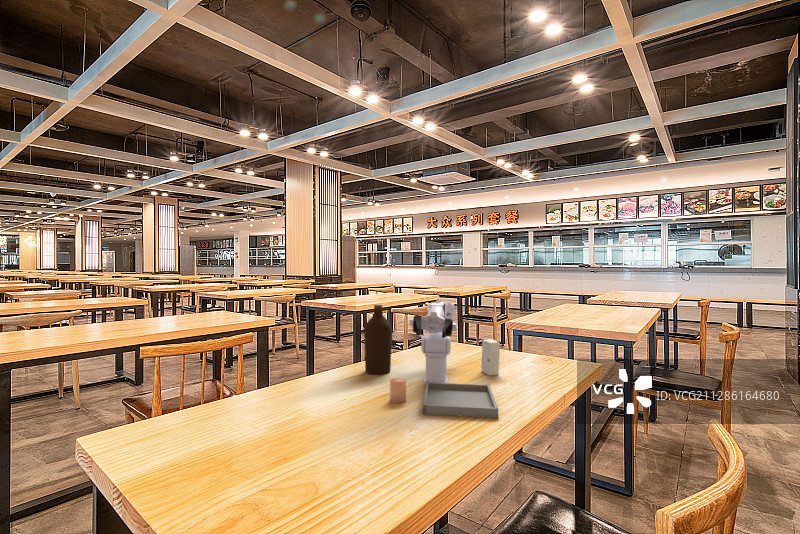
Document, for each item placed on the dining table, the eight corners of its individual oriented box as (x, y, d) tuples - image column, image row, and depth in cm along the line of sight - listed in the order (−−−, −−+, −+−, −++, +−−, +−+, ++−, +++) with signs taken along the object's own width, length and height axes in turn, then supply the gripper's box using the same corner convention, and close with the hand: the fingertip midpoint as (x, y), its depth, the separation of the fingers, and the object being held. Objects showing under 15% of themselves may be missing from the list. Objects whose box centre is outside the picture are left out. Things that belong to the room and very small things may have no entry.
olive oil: (396, 369, 149) (396, 304, 148) (385, 376, 139) (385, 307, 138) (370, 366, 152) (371, 303, 152) (359, 373, 142) (359, 306, 142)
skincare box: (480, 371, 146) (481, 339, 146) (491, 370, 148) (491, 338, 147) (489, 375, 140) (489, 342, 140) (500, 374, 142) (500, 341, 141)
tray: (426, 390, 125) (426, 382, 125) (489, 392, 122) (489, 384, 122) (423, 414, 105) (423, 405, 105) (498, 418, 103) (498, 408, 102)
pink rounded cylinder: (391, 397, 118) (391, 377, 118) (406, 397, 118) (406, 378, 118) (389, 402, 113) (389, 382, 113) (405, 403, 113) (405, 383, 113)
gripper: (413, 305, 128) (406, 317, 114) (457, 309, 125) (456, 323, 112) (412, 325, 129) (405, 340, 116) (456, 330, 126) (454, 345, 113)
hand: (430, 333), depth 114 cm, fingers open, 7 cm apart
